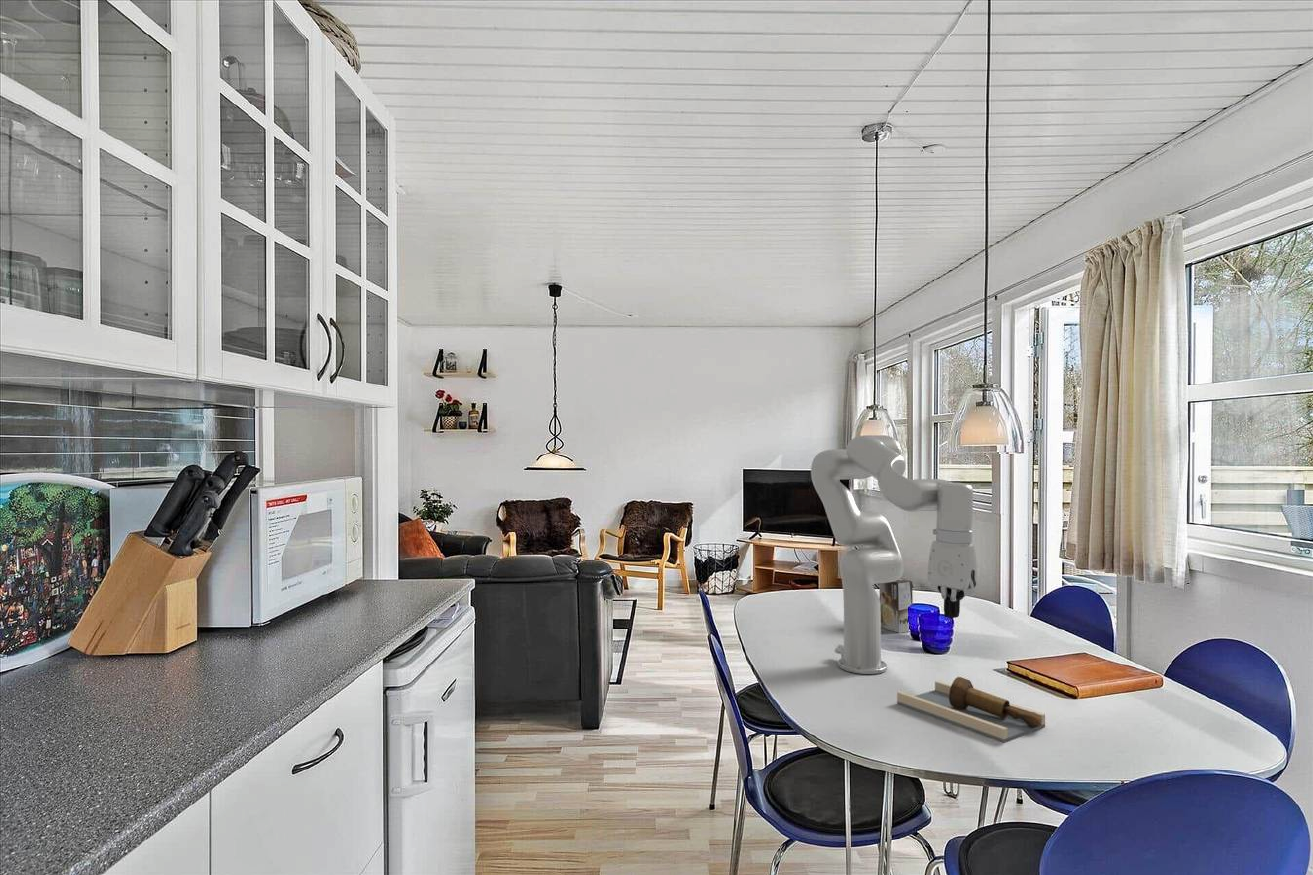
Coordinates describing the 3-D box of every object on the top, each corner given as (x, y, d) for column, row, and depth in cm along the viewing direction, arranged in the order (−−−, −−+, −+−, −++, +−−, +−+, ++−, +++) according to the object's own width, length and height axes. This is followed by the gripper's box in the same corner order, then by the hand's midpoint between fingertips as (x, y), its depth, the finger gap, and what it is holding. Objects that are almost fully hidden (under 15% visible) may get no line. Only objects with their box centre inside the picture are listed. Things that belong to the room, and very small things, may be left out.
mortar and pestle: (954, 673, 162) (1039, 703, 148) (965, 680, 166) (1048, 709, 152) (945, 702, 160) (1031, 735, 147) (956, 708, 164) (1040, 740, 151)
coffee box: (914, 631, 231) (913, 581, 231) (898, 633, 228) (898, 582, 229) (893, 624, 240) (893, 576, 240) (878, 626, 237) (878, 577, 237)
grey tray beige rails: (897, 703, 166) (897, 692, 166) (938, 691, 174) (938, 680, 174) (1004, 742, 144) (1003, 729, 144) (1045, 726, 152) (1045, 714, 152)
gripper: (915, 533, 169) (913, 611, 169) (973, 543, 156) (970, 627, 157) (936, 531, 173) (933, 607, 173) (994, 540, 160) (991, 622, 161)
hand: (951, 616), depth 165 cm, fingers closed
